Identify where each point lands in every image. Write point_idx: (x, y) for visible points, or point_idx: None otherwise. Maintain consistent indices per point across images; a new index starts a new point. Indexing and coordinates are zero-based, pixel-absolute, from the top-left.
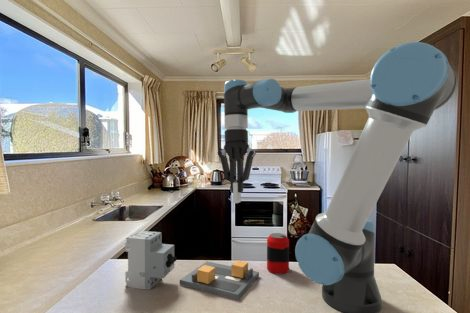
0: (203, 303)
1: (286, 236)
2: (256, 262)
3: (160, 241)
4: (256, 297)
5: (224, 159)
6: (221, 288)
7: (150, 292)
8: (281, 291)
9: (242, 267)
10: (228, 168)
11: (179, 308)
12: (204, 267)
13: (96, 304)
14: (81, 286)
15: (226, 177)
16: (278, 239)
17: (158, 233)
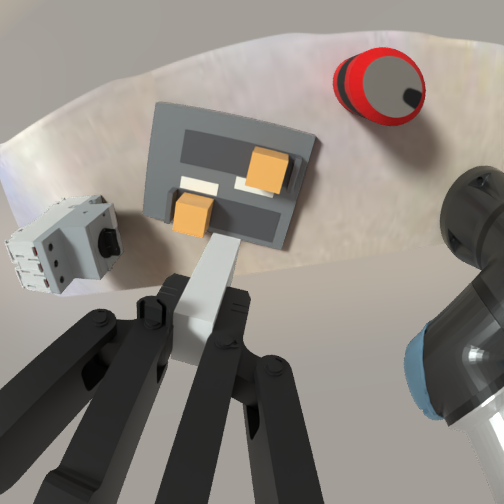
0: None
1: (422, 87)
2: (295, 44)
3: (55, 236)
4: (316, 229)
5: (18, 473)
6: (241, 234)
7: None
8: (368, 199)
9: (277, 193)
10: (58, 395)
11: None
12: (182, 215)
13: (81, 286)
14: None
15: (104, 367)
16: (394, 120)
17: (42, 251)
